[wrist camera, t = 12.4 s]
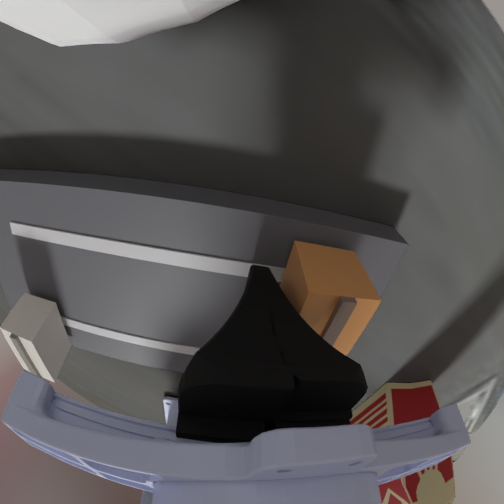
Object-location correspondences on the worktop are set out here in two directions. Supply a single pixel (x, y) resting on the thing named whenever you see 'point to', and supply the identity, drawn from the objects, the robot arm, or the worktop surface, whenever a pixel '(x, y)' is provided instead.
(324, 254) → the fader orange
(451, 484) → the milk carton
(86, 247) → the mixing panel
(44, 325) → the block
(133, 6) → the cup
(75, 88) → the worktop surface
